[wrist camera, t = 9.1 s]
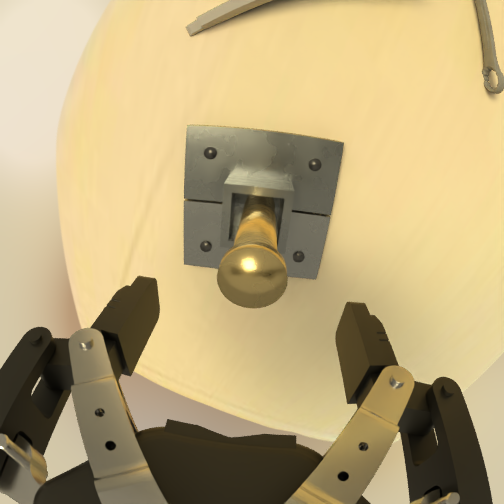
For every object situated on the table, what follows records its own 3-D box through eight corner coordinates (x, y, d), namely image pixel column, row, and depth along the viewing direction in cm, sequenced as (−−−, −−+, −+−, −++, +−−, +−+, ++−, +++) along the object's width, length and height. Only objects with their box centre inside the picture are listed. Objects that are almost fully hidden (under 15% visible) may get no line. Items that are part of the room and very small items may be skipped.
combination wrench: (509, 96, 14) (473, -63, 4) (501, 92, 14) (464, -68, 4) (486, 93, 17) (457, -54, 7) (478, 90, 17) (448, -58, 7)
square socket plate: (340, 141, 21) (355, 147, 17) (314, 273, 26) (320, 299, 23) (190, 124, 21) (175, 127, 17) (186, 259, 26) (174, 282, 23)
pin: (282, 189, 22) (292, 253, 12) (276, 227, 23) (281, 311, 14) (241, 184, 22) (218, 245, 12) (238, 222, 23) (216, 304, 14)
